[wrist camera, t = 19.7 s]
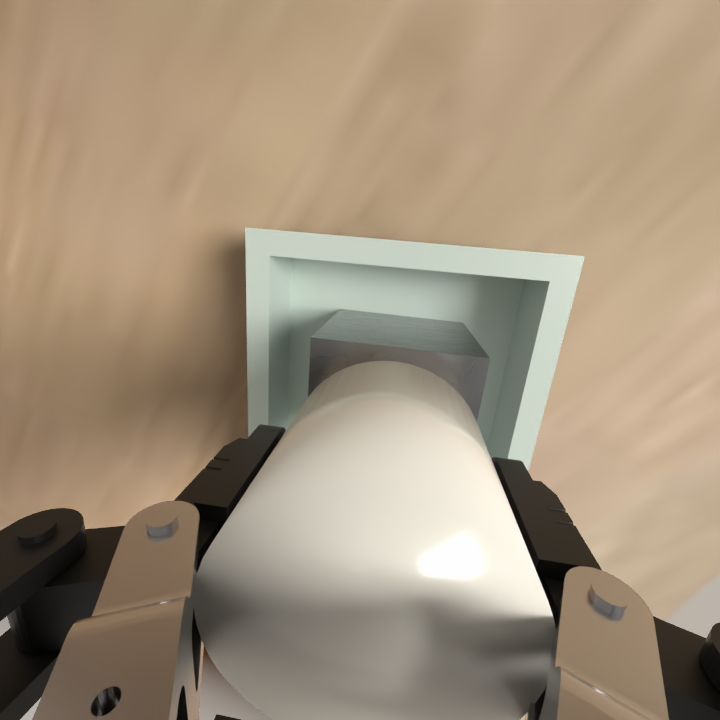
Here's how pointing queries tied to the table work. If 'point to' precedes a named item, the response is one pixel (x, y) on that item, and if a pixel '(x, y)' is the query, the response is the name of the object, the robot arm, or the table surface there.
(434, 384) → the cream tapered egg shape
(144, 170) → the table surface
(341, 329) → the iron cube
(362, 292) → the tote
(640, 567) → the table surface
